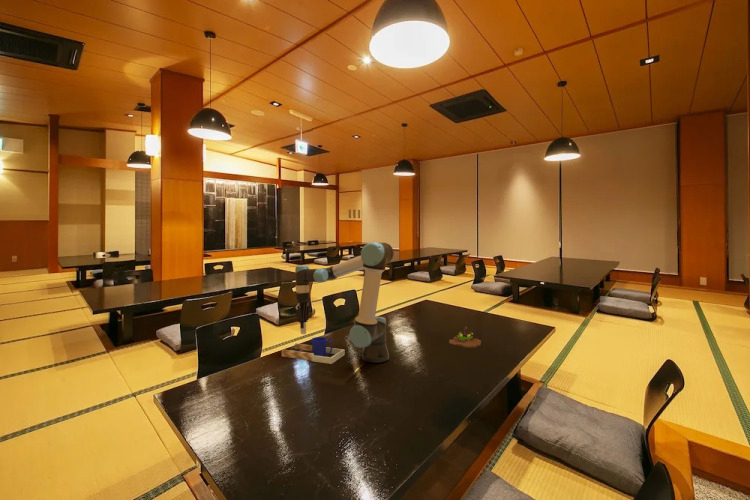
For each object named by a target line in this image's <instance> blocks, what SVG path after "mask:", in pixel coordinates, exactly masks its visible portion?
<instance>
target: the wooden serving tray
mask: <svg viewBox="0 0 750 500" xmlns="http://www.w3.org/2000/svg"><path fill="white" fill-rule="evenodd" d="M297 345H298V346H297ZM295 346H296V347H295ZM294 349H295V350H291V349H285V348H284V349H283V348H282V349H281V357H285V358H290V359H292V358H293V359H300V360H306V361H312V355H314V353H312V344H303V343H295V344H294ZM296 349H297V350H296ZM299 350H301V351H299Z"/></svg>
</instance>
